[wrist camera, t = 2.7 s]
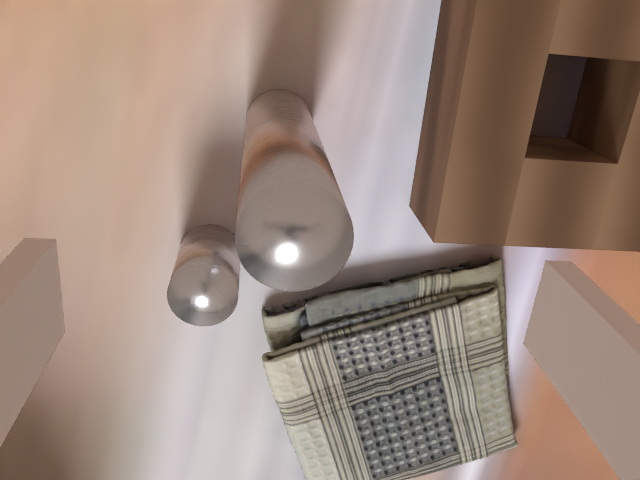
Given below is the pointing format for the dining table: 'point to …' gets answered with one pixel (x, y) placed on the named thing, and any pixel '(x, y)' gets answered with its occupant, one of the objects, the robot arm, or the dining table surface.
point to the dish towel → (394, 374)
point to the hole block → (516, 122)
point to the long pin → (289, 199)
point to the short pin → (205, 277)
